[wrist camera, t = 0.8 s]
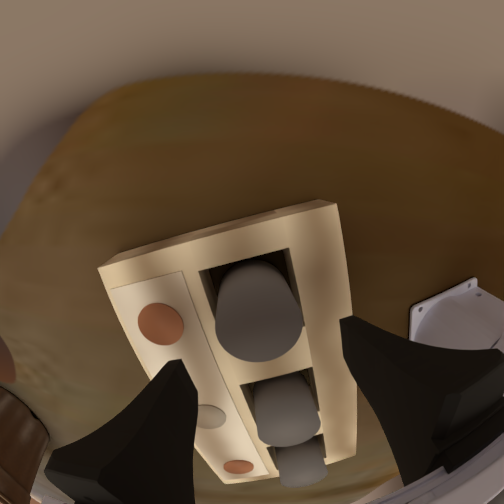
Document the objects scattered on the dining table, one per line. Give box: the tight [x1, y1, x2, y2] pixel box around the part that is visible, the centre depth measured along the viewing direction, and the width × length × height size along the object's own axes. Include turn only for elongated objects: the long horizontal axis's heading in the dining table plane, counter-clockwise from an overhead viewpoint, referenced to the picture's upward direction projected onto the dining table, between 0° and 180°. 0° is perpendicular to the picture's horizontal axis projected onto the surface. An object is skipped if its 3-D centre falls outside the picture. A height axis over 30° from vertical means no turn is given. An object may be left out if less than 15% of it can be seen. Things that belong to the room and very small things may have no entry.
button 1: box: [215, 260, 303, 362], centre depth 16 cm, size 4×4×4 cm
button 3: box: [275, 436, 328, 487], centre depth 20 cm, size 4×4×4 cm
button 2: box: [253, 371, 321, 447], centre depth 18 cm, size 4×4×4 cm
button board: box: [98, 199, 357, 484], centre depth 20 cm, size 15×27×4 cm, turn 14°
